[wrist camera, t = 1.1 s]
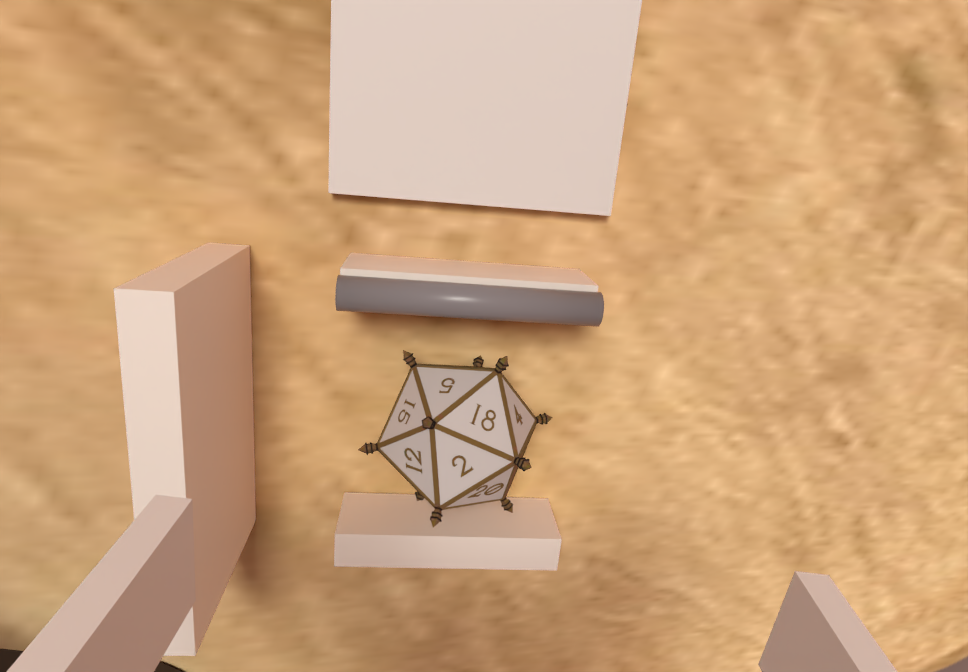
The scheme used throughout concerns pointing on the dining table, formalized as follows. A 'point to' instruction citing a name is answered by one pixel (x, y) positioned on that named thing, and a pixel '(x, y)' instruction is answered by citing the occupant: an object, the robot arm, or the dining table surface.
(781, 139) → the dining table surface
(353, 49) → the mat
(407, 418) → the game die
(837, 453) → the dining table surface
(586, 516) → the dining table surface
